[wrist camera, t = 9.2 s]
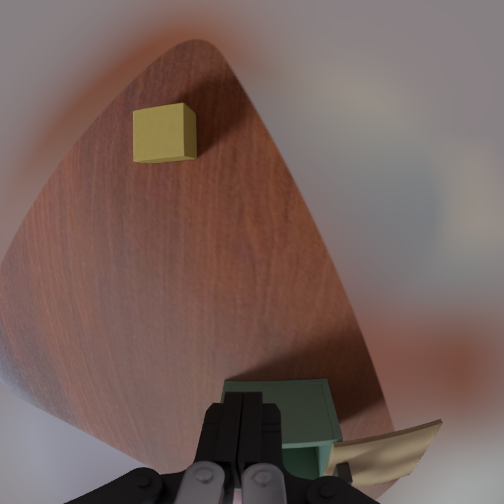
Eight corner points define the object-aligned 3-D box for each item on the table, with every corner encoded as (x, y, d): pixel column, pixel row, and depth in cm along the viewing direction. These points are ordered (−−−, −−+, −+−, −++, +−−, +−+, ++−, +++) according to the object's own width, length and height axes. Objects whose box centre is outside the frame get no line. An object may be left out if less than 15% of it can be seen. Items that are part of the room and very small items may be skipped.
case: (224, 380, 28) (212, 442, 20) (326, 377, 28) (343, 438, 19) (231, 435, 31) (224, 489, 22) (317, 432, 30) (326, 486, 22)
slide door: (332, 442, 19) (338, 469, 16) (440, 418, 19) (452, 439, 16) (317, 489, 22) (320, 511, 19) (408, 471, 21) (415, 489, 18)
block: (152, 119, 22) (133, 110, 18) (196, 113, 22) (183, 102, 18) (152, 163, 23) (133, 161, 19) (197, 159, 23) (184, 155, 19)
